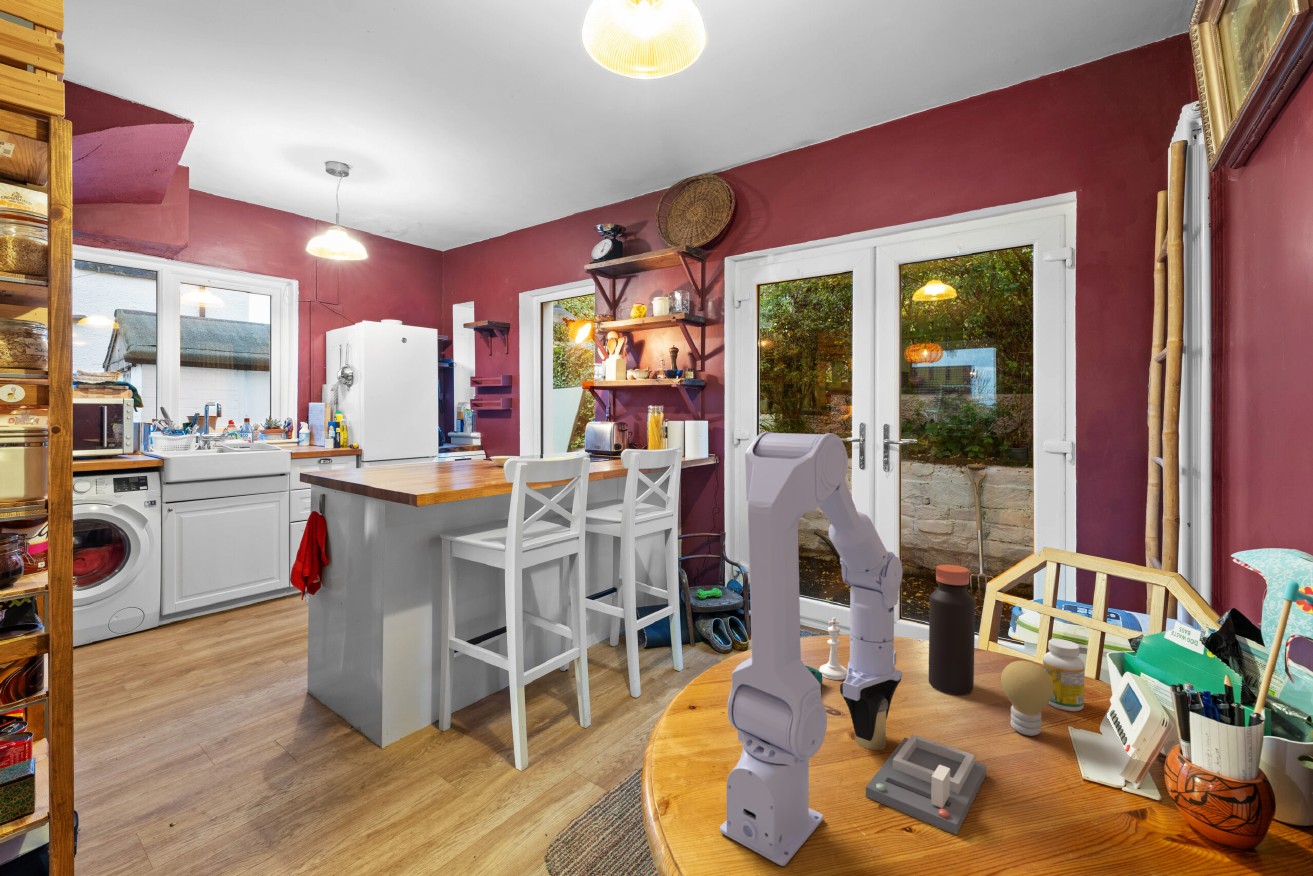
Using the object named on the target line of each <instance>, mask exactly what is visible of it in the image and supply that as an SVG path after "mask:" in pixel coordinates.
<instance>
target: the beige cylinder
mask: <svg viewBox="0 0 1313 876" xmlns="http://www.w3.org/2000/svg"><path fill="white" fill-rule="evenodd" d="M887 708H888V701H887V700H886V699H885V698H884V699H883V700H882V702H881V704H880V707H879V710H878V713H877V717H876V724H875V731H874V735H873V738H872V740H871V741H868V740H865V739H862V738H859V737H857V736H856V734H855V733H854V735H855V737H854V738H855V739H854V740H855V742H856V744H857V745H858V746H860V747H861V748H864V749H866V750H871V751H878V750H879V751H881V750H883V749H885V748H886V746H887V745H886V744H887V741H886V740H887V720H886V709H887Z"/></svg>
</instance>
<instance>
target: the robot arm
mask: <svg viewBox="0 0 1313 876" xmlns="http://www.w3.org/2000/svg"><path fill="white" fill-rule="evenodd" d="M847 452H848V451H847V449H846V446H845V444H844V442H843V440H842V439H841V437H840V436H839V435H837V434H835V433H829V432H828V433H825V434H820V433H818V434H817V433H789V432H788V433H785V432H784V433H782V432H781V433H779V432H774V431H762V432H760V433H759V434H758V435H757V436H755V438H754V439H753V440H752V443H750V445H749V447H748V448H747V449H746V451H745V453H744V454H745V455H744V459H745V497H746V499H745V500H746V501H747V523H748V524H747V526H748V530H747V531H748V558H749V559H748V564H749V568H748V569H749V594H750V595H749V597H750V599H749V601H750V627H751V628H750V630H751V631H750V634H751V635H750V636H751V657H749V658H748V659H745V660H744V661H742V662H741V663H739V664H738V665H737V667H736V668H735V669H734V670H733V671H732V672H731V687H730V692H729V696H728V700H727V705H726V706H727V707H726V708H727V717H728V718H727V719H728V721H729V723H730V725H731V726H732V727H733V728H734V729H736V730H737V740H738V742H741V743H742V751H741V755H740V758H739V760H738V762H737V763H736V765H735V766H734V768H733V769H732V770H731V771H730V773H728V776H727V781H726V820H725V821H724V822H723V823H722V824H721V825H720V826H719V831H720V833H721V834H722V835H724V836H726V837H728V838H730V839H732V840H734V841H735V842H737V843H739V844H741V845H742V846H744V847H746V848H749V850H752V851H754V852H755V853H757V854H759V855H761V856H763V857H764V858H766V859H768V860H770V861H771V862H773V863H775V864H777V865H779V866H782V867H783V866H786V865H787V864H788V863H789V862H790V860H791V859H792V858H793V857H794V855H795V854H796V853H797V852H798V850H799V849H800V848H801V847H802V846H803V845H804V843H805V842H806V841H807V840H808V839H809V837H810V836H811V835H813V832H814V831H815V830H816V828H817V827H819V825H820V824H821V823H822V822H823V820H824V815H823V814H822V813H821V812H818V811H817V810H814V809H812V808H810V807H809V801H810V792H809V791H810V787H809V786H810V759H811V758H812V757H813V756H814V755H816V754H817V753H818V752H819V750H820V749H821V747H822V745H823V743H824V739H825V737H826V734H827V726H828V717H827V712H826V709H825V706H824V702H823V700H822V693H821V688H822V687H821V686H822V685H820V683H819V682H818V681H817V679H816V678H815V677H814V676H813V674H812V673H811V672H810V671H809V670H808V668H807V667H806V666H807V665H806V664H804V662H803V660H802V659H801V658H802V656H801V654H802V652H801V651H802V649H801V614H800V613H801V609H800V604H801V602H800V600H801V599H800V567H799V565H800V561H799V522H800V519H801V518H802V517H803V515H804V514H807V513H810V512H813V511H815V510H816V511H817V509H818V508H819V509H820V510H821V512H822V514H823V515H824V516H825V517H826V519H827V520H828V522H829V523H830V525H829V528H828V538H829V540H830V542H831V543H832V545H833V546H834V548H835V550H836V551H837V554H838V555H839V564H840V566H841V577H842V581H843V583H845V584H846V585H847V586H850V593H849V594H850V595H849V596H850V597H849V598H850V599H849V600H850V601H849V605H850V607H849V660H848V662H847V668H846V669H847V677H846V678H845V679H844V681H842V682H841V684H839V693H840V695H841V697H843V700H844V701H845V704H846V705H847V708H848V711H849V713H850V718H851V721H852V726H853V731H854V735H855V734H856V736H857V737H859V738H862V739H865V740H868V741H871V740H872V738H873V735H874V731H875V724H876V717H877V713H878V710H879V707H880V704H881V702H882V700H883V699H884V698H885V699H886V700H887V701H888V708H887V709H886V721H887V719H888V715H889V711H890V708H891V703H892V699H893V697H894V695H895V691H896V690H897V687H898V685H899V684H900V683H901V680H902V678H903V671H902V670H898V669H896V667H895V666H896V665H897V651H895V649H894V646H895V645H894V643H895V641H894V638H895V637H894V636H895V606H896V605H898V600H899V592H900V591H899V590H900V587H901V583H902V579H903V573H904V569H903V564H902V562H901V559H900V558H899V557H898V556H896V554H895V553H894V552H893V551H887V549H886V546H885V545H884V544H883V541H882V539H881V537H880V535H879V533H878V531H877V529H876V528H875V526H874V523H873V522H872V520H871V517H869V515H868V514H865V513H863V512H861V511H857V508H856V504H855V502H854V501H853V497H852V495H851V492H850V490H849V488H848V484H847V482H846V479H847V478H846V477H847V473H848V467H849V466H848V463H849V456H848V453H847ZM805 665H806V666H805Z"/></svg>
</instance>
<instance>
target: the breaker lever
mask: <svg viewBox="0 0 1313 876" xmlns="http://www.w3.org/2000/svg"><path fill="white" fill-rule="evenodd" d="M949 796H950V768H948V767H945V766H942V765H939V766H938V767H937V769H936V770H935V772H934V774H933V775H932V783H931V804H933V805H935V806H938V807H940V808H943V806H944V805H945V803H946V801H947V799H948V797H949Z"/></svg>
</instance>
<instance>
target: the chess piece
mask: <svg viewBox="0 0 1313 876" xmlns="http://www.w3.org/2000/svg"><path fill="white" fill-rule="evenodd" d="M839 624H840V621H839V620H837V619H836V616H835V617H831V620H828V625H831V626H829V627H827V631H828V635H829V639H828V640H827V642H826V643H827V644H828V645H829V646H830V651H829V657H828V662H827V663H824V664H821V666H820V667H819V669H818V671H820V672H821V673H822V678H825V679H828V680H834V681H842V680H846V677H847V669H848V668H846V667H845V666H843V665H841V664H840V663H839V658H838V647H837V646H839V645H840V644H841V641H840V640H838V636H839V635H840V631H841V630H840V628H839V627H837V626H836V625H839Z"/></svg>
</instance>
